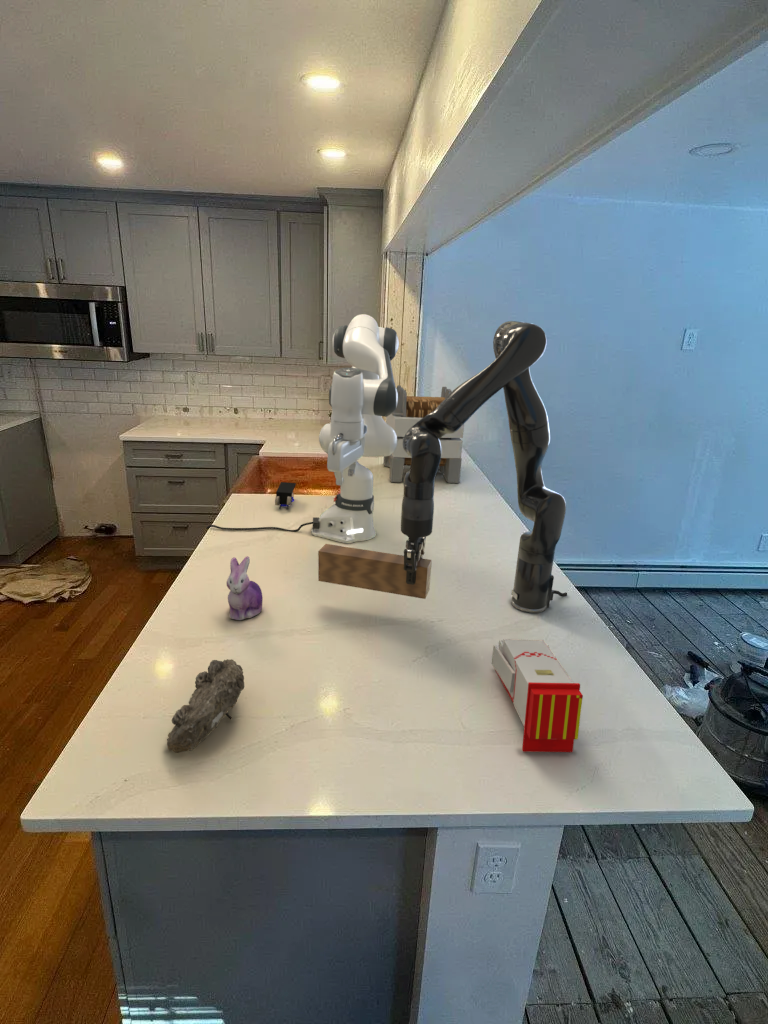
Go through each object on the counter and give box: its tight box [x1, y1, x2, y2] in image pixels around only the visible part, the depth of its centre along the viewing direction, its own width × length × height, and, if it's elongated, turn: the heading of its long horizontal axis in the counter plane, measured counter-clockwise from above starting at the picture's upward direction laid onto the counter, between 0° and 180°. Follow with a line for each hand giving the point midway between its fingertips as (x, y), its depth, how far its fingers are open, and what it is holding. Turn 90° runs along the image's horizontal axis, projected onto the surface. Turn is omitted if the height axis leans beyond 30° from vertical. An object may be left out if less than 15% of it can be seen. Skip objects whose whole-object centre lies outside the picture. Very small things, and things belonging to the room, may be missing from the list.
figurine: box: [226, 555, 264, 621], centre depth 142 cm, size 9×10×15 cm
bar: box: [317, 543, 433, 600], centre depth 141 cm, size 28×5×8 cm, turn 74°
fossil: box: [166, 658, 245, 754], centre depth 106 cm, size 22×10×15 cm
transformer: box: [383, 384, 465, 484], centre depth 268 cm, size 34×33×41 cm
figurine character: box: [274, 481, 297, 510], centre depth 222 cm, size 7×8×15 cm
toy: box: [491, 638, 584, 753], centre depth 114 cm, size 12×13×30 cm
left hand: (345, 480), depth 157 cm, fingers open, 8 cm apart
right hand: (413, 578), depth 139 cm, fingers closed on bar, 5 cm apart
